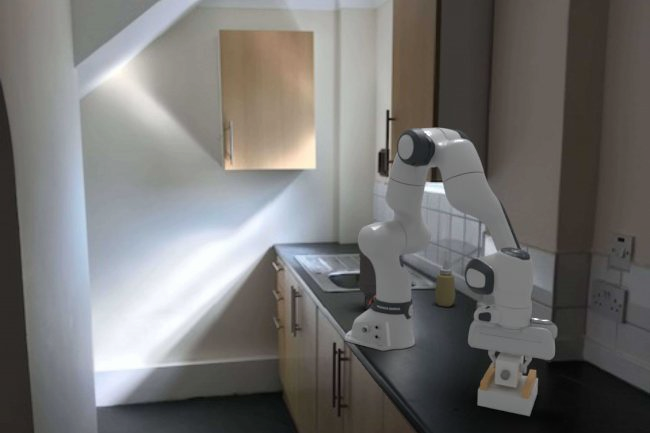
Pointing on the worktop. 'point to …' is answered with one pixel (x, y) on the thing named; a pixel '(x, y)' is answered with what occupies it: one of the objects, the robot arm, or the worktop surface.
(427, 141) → the robot arm
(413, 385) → the worktop surface
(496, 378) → the white block with knob
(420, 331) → the worktop surface
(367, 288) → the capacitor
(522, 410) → the white tray with rails
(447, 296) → the squeeze bottle
